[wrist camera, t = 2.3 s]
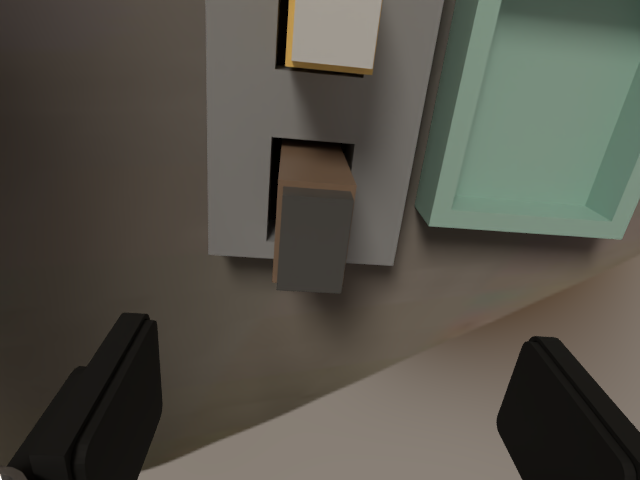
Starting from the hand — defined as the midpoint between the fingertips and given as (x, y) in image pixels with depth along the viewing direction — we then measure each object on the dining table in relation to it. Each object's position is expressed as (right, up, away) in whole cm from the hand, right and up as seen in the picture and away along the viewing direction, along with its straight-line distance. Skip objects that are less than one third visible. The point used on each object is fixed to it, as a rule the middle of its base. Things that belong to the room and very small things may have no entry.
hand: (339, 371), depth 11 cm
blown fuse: (-1, +7, +14) cm, 15 cm away
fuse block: (-1, +11, +12) cm, 16 cm away
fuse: (0, +15, +10) cm, 18 cm away
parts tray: (+11, +11, +12) cm, 20 cm away
